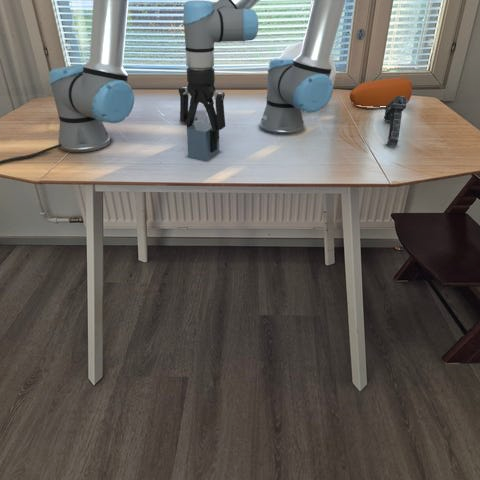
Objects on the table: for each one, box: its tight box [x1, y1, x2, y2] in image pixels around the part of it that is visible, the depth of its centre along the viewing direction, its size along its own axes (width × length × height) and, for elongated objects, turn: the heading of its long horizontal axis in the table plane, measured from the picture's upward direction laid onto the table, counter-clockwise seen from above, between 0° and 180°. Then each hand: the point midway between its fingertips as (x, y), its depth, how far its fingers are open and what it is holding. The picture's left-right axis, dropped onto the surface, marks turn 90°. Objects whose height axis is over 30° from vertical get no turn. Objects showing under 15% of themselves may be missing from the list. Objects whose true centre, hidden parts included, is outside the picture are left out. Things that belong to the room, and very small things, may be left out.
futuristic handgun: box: [383, 96, 408, 147], centre depth 138 cm, size 4×29×15 cm, turn 164°
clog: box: [349, 77, 413, 110], centre depth 164 cm, size 12×11×25 cm
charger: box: [179, 102, 208, 125], centre depth 151 cm, size 5×9×15 cm
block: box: [186, 121, 220, 162], centre depth 121 cm, size 6×8×9 cm
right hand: (203, 148), depth 122 cm, fingers closed on block, 6 cm apart
